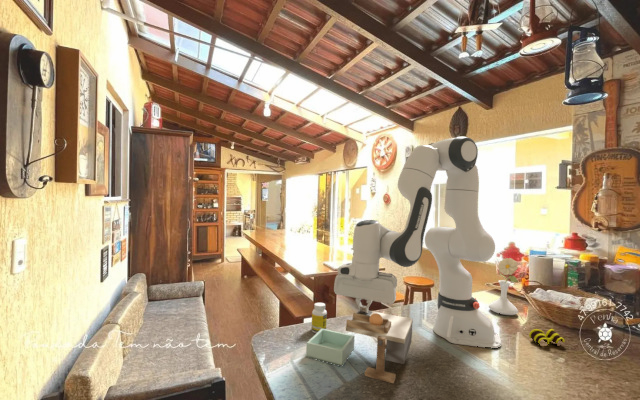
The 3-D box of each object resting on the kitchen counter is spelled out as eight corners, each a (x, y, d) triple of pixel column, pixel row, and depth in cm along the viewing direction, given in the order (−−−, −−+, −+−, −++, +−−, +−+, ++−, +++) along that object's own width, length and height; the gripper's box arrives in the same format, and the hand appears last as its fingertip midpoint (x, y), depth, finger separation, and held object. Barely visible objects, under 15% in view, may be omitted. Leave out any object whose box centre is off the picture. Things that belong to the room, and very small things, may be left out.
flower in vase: (482, 307, 146) (485, 253, 145) (506, 307, 147) (508, 254, 146) (502, 319, 133) (505, 260, 132) (527, 319, 134) (530, 260, 133)
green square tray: (354, 349, 103) (354, 335, 103) (341, 366, 92) (342, 351, 92) (321, 341, 108) (321, 328, 108) (306, 357, 97) (306, 342, 97)
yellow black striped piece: (538, 349, 109) (541, 337, 108) (527, 339, 114) (530, 327, 113) (564, 349, 110) (567, 336, 109) (551, 339, 115) (554, 327, 114)
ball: (384, 326, 95) (384, 312, 95) (380, 331, 91) (381, 317, 91) (371, 323, 97) (371, 310, 97) (367, 328, 93) (367, 314, 93)
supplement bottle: (324, 334, 113) (325, 307, 113) (309, 333, 114) (310, 306, 114) (327, 328, 118) (328, 302, 118) (313, 326, 119) (314, 301, 119)
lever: (411, 341, 102) (412, 313, 101) (403, 365, 87) (404, 333, 87) (360, 330, 108) (361, 304, 108) (344, 350, 94) (346, 321, 94)
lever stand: (406, 347, 105) (407, 314, 105) (393, 383, 85) (395, 343, 85) (382, 342, 109) (383, 310, 108) (364, 375, 88) (365, 336, 88)
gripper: (399, 272, 102) (397, 314, 102) (339, 264, 110) (338, 303, 111) (395, 276, 96) (393, 321, 97) (333, 267, 105) (331, 309, 105)
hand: (363, 311), depth 104 cm, fingers closed
